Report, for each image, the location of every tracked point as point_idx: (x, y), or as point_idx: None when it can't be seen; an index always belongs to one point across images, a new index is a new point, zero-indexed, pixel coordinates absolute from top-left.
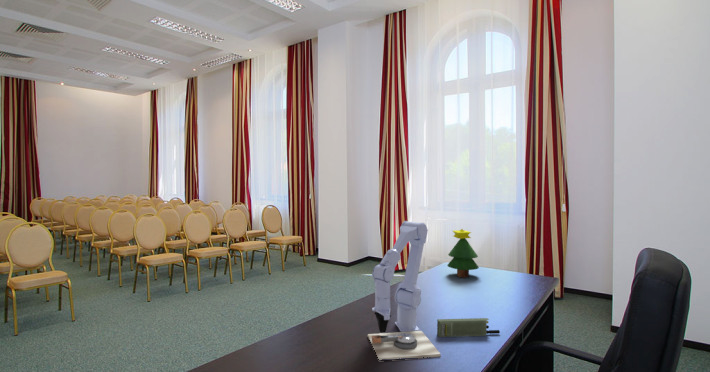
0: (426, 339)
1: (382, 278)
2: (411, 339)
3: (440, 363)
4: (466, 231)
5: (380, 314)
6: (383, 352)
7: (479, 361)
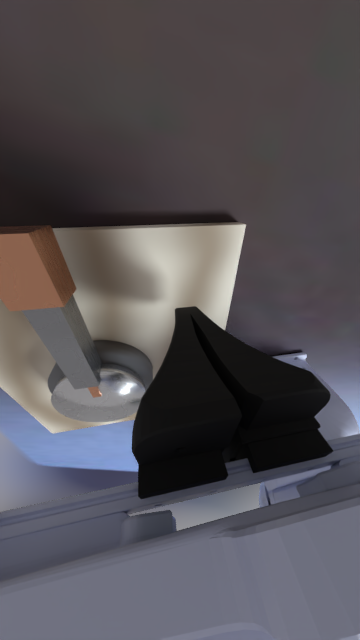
0: None
1: None
2: (77, 415)
3: (8, 424)
4: None
5: (198, 452)
6: None
7: (53, 461)
